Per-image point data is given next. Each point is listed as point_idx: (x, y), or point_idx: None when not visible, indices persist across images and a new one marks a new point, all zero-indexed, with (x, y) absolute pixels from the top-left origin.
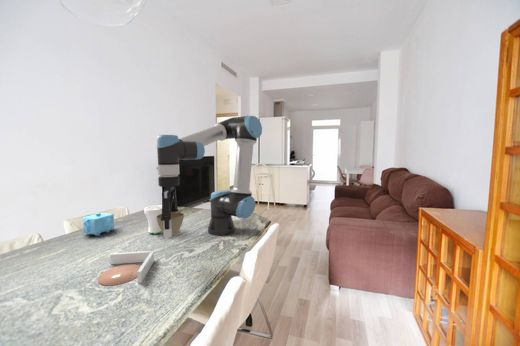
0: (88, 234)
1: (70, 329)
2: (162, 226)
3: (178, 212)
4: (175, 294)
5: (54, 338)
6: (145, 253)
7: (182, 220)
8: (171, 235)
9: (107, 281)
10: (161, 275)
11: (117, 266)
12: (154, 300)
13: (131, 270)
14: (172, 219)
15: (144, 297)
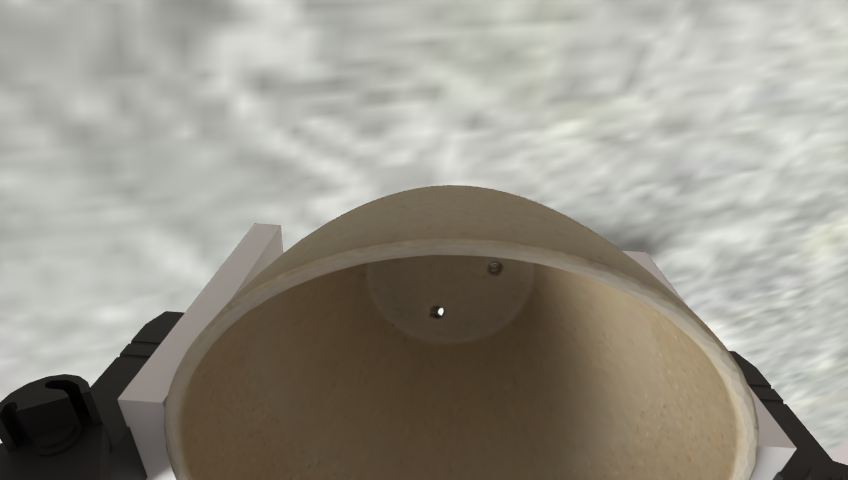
0: None
1: (821, 412)
2: (593, 434)
3: (190, 367)
4: (836, 81)
5: (841, 432)
6: None
7: (527, 205)
8: (653, 264)
9: None
10: (561, 189)
11: None
12: (822, 187)
13: None
14: (740, 425)
15: (761, 237)
